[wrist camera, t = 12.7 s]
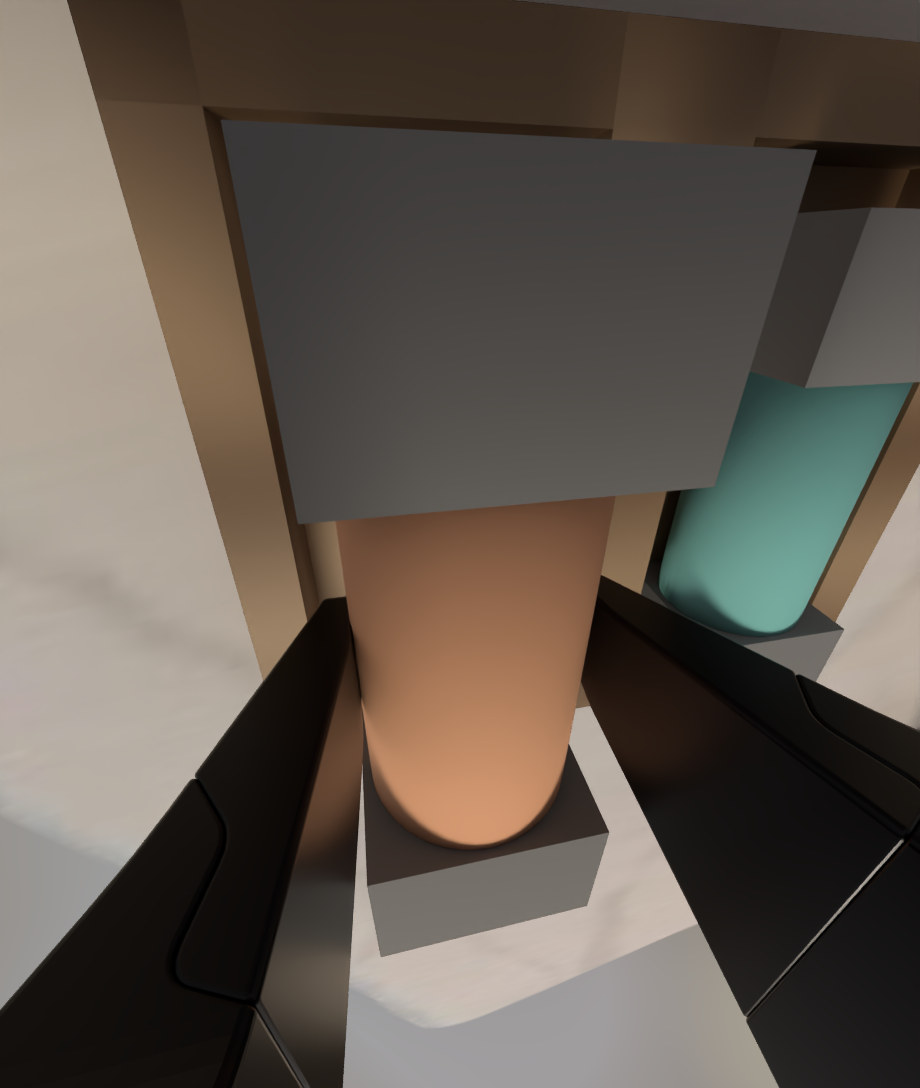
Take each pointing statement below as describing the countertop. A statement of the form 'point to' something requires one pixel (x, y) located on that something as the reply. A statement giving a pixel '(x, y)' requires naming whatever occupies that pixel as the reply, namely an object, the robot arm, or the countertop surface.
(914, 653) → the countertop surface
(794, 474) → the teal capped cylinder
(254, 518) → the wooden tray
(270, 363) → the orange capped cylinder
